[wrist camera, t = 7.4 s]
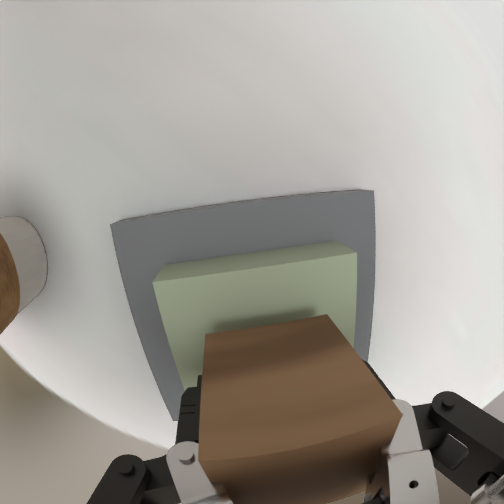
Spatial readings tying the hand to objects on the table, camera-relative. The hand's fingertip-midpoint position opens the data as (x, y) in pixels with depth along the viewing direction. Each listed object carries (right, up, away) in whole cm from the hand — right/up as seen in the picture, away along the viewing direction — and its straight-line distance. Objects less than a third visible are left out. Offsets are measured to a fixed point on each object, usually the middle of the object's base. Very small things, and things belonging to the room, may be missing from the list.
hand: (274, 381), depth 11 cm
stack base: (-1, +1, +6) cm, 6 cm away
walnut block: (0, 0, +1) cm, 1 cm away
